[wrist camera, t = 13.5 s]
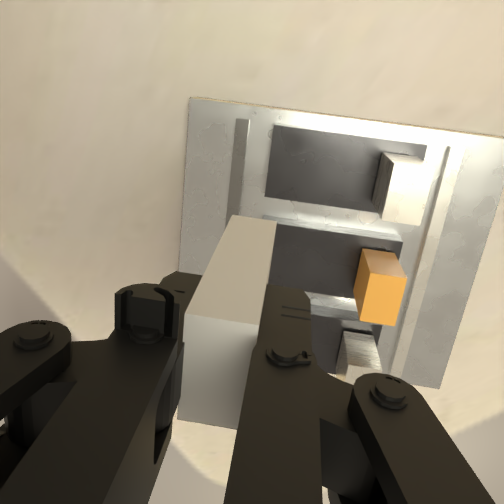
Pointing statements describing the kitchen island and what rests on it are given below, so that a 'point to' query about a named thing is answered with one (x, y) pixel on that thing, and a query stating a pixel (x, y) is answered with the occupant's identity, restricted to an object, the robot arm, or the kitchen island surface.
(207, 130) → the panel
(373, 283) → the block
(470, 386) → the kitchen island surface
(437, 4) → the kitchen island surface
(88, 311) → the kitchen island surface
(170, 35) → the kitchen island surface
